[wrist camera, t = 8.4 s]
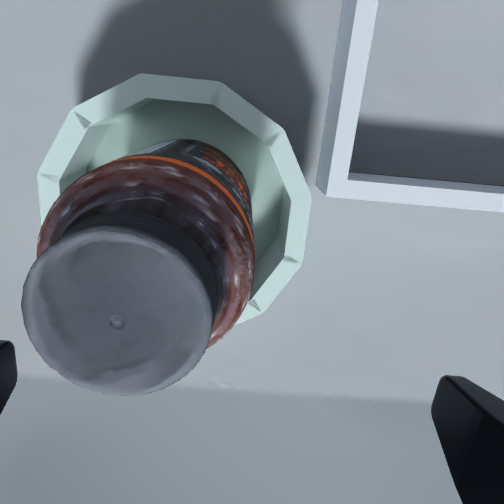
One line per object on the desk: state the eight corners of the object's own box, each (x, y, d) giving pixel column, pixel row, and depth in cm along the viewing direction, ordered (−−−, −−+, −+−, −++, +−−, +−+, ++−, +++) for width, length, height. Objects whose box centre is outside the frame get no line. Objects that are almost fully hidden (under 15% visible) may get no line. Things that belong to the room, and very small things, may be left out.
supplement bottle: (276, 215, 19) (317, 350, 9) (178, 283, 20) (109, 477, 10) (198, 107, 18) (130, 111, 7) (96, 187, 19) (-97, 297, 8)
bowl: (309, 94, 18) (327, 92, 15) (281, 302, 22) (290, 343, 18) (72, 70, 18) (27, 61, 14) (83, 288, 21) (50, 327, 18)
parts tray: (634, -69, 17) (699, -97, 14) (540, 206, 21) (579, 219, 18) (359, -106, 16) (379, -142, 14) (315, 185, 20) (325, 196, 18)
